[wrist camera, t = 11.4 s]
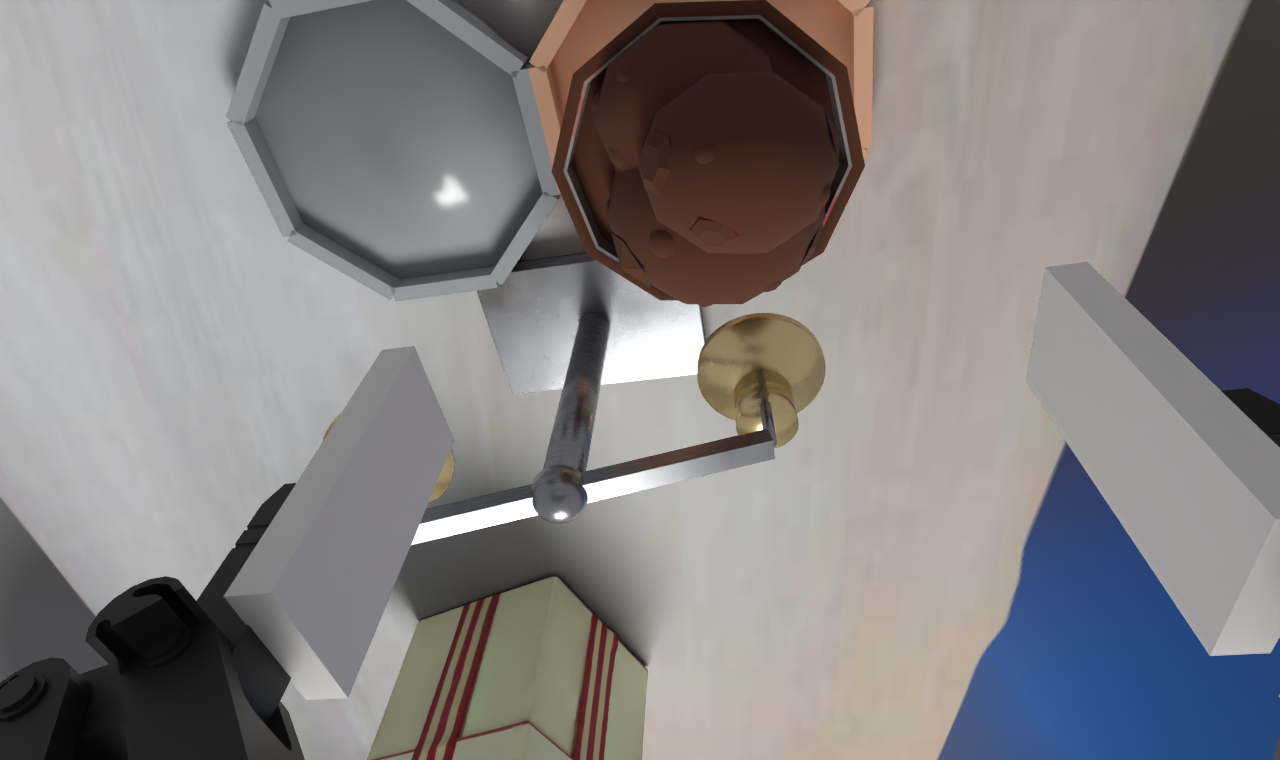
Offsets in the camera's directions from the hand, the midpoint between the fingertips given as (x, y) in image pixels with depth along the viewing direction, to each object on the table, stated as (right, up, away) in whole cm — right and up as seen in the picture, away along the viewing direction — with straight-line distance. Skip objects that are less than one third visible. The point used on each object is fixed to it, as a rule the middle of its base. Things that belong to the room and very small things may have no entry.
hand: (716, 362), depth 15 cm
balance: (-4, +3, +26) cm, 26 cm away
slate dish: (-13, +11, +21) cm, 27 cm away
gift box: (-11, -24, +46) cm, 53 cm away
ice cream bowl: (+1, +13, +18) cm, 22 cm away
